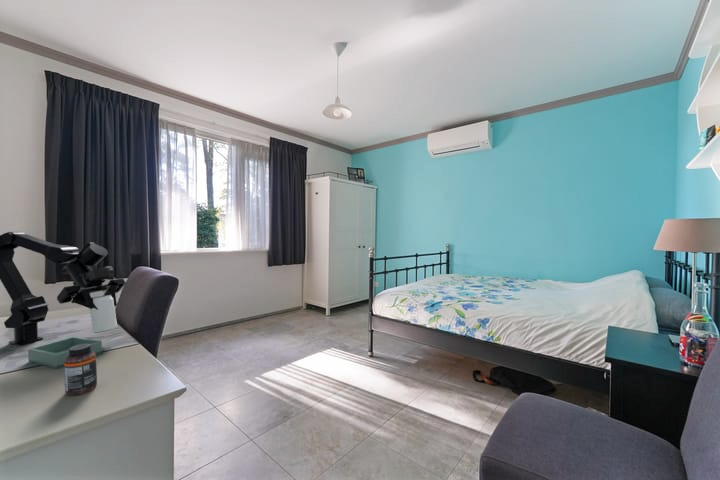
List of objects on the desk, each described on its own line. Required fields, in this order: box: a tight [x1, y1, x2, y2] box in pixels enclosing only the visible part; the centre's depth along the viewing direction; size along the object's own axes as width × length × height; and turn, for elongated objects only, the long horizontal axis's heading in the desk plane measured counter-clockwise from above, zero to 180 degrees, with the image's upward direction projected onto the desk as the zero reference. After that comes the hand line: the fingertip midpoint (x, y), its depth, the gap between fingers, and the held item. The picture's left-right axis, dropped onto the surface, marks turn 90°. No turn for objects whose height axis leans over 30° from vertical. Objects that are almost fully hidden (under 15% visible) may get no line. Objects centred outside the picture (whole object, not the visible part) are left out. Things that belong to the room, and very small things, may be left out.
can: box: [89, 294, 118, 334], centre depth 104 cm, size 6×6×12 cm
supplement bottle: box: [63, 344, 98, 396], centre depth 76 cm, size 6×6×11 cm
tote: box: [27, 335, 103, 370], centre depth 95 cm, size 14×12×4 cm
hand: (106, 308), depth 104 cm, fingers closed on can, 5 cm apart
